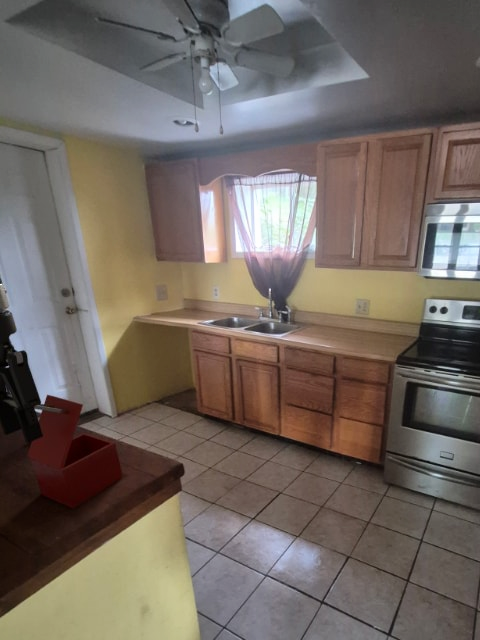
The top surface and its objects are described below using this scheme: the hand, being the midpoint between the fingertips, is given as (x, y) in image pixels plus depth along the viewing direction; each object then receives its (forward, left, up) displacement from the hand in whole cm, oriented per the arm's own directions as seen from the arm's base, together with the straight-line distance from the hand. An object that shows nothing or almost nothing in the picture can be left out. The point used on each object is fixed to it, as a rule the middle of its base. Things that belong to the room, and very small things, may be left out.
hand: (23, 435), depth 70 cm
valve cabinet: (0, +8, -17) cm, 19 cm away
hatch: (0, +6, -2) cm, 6 cm away
